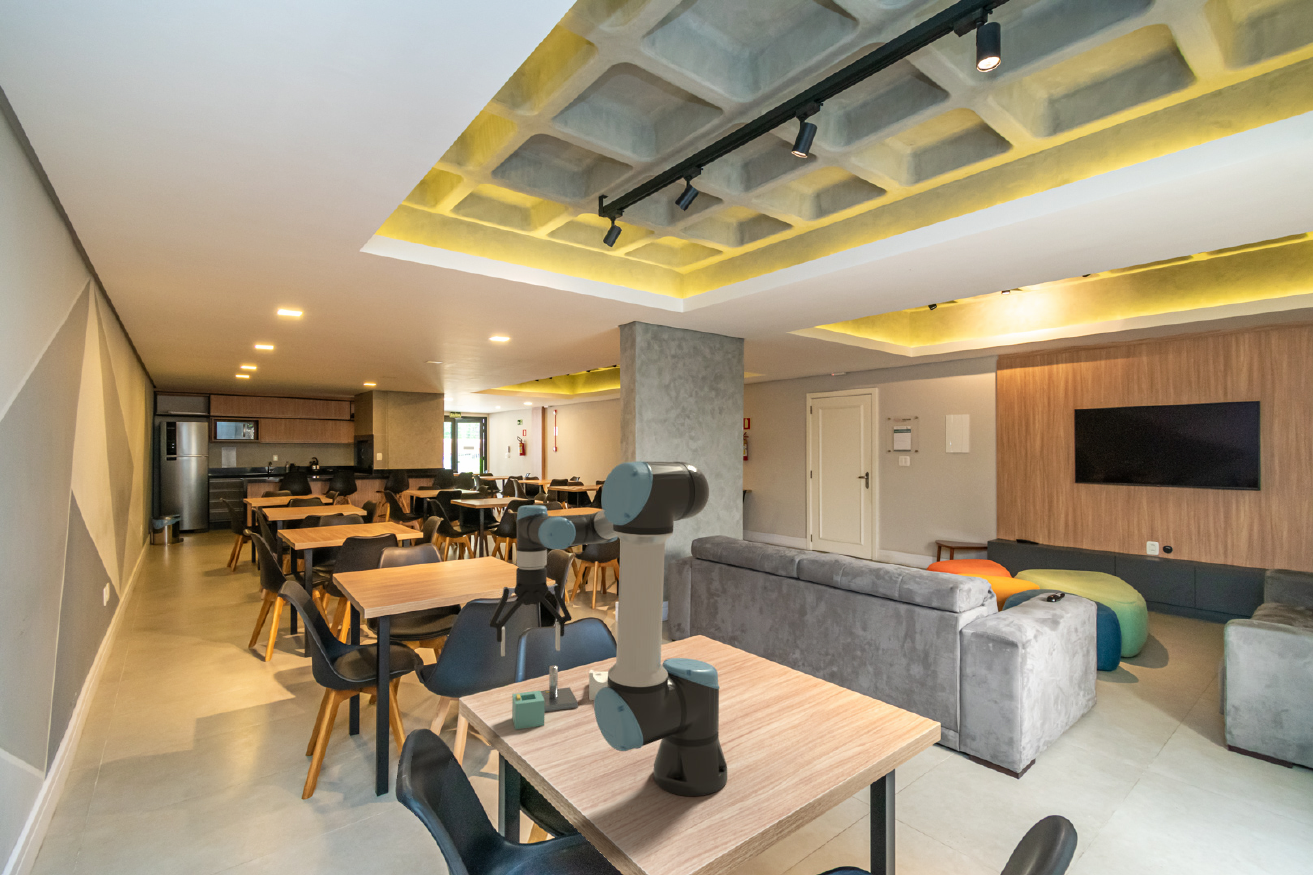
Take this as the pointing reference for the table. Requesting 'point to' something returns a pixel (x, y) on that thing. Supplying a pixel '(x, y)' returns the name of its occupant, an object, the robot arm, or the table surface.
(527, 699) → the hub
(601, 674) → the bracket
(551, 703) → the shaft base
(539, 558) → the robot arm
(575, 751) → the table surface
